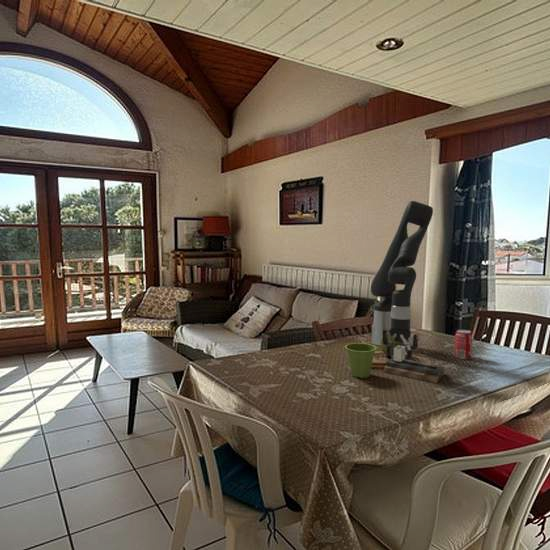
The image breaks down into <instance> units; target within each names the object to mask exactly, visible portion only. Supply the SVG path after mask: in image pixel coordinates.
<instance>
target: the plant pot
mask: <svg viewBox="0 0 550 550" xmlns="http://www.w3.org/2000/svg"><path fill="white" fill-rule="evenodd" d="M344 348H345V349H346V354H347V357H348V363H349V369H350V370H349V371H350V375H351V376H352V377H354V378H360V379H364V378H365V379H367V378H369V377H370V375H371V372H372V366H373V359H374V356H375V353H376V352H375V351H376V350H377V346H376V345H375V344H372V343H371V344H370V343H366V342H365V343H362V342H354V343H349V344H346V345H345V346H344Z"/></svg>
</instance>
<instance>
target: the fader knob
mask: <svg viewBox="0 0 550 550" xmlns="http://www.w3.org/2000/svg"><path fill="white" fill-rule="evenodd" d="M405 347H406V345H405V346H402V345H401V346H399V345H398V346H396V347H395V348H394V358H393V360H394V361H396V362H400V363H403V360H404V359H406V349H405Z"/></svg>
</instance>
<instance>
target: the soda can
mask: <svg viewBox="0 0 550 550" xmlns="http://www.w3.org/2000/svg"><path fill="white" fill-rule="evenodd" d="M453 347H454V350H453V352H454V357H456V358H457V359H460V360H469V359H470V358H472V355H473V354H472V353H473V334H472V331H471V330H467V329H456V332H455V334H454V345H453Z"/></svg>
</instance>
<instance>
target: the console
mask: <svg viewBox="0 0 550 550" xmlns="http://www.w3.org/2000/svg"><path fill="white" fill-rule="evenodd" d="M393 358H394V357H390V358H389V359H387V361H385V366H383V373H387V374H391V375H396V376H401V377H406V378H409V379H415V380H420V381H425V382H430V383H432V384H433V383H435V384H437V383H438V382H439V381H440V380H441V379H442V377H443V376H445V374H446V369H445V367H444V366H443V365H437V364H432V363H428V362H422V361H421V362H420V361H416V360H411V359H407V358H405V359H404V360H403V363H400V362H396V361H394V360H393Z"/></svg>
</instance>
